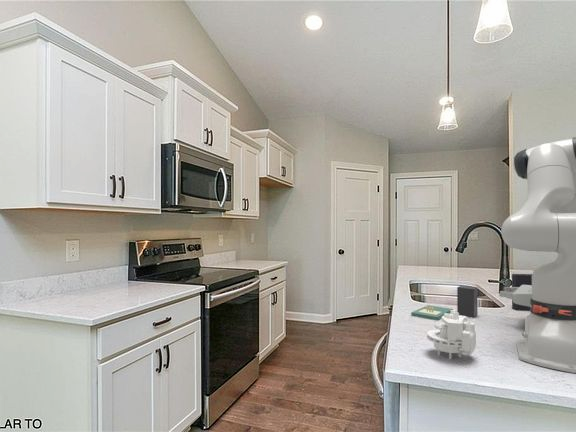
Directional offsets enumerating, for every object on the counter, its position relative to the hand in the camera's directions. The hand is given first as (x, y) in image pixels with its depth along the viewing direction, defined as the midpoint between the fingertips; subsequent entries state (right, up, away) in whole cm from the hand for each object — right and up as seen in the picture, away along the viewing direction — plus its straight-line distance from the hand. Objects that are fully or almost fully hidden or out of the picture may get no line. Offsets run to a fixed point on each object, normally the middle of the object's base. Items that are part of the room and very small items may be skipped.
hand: (502, 291), depth 130 cm
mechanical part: (-36, -10, -36) cm, 52 cm away
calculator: (+21, -12, +17) cm, 30 cm away
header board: (-22, -11, +9) cm, 27 cm away
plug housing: (-9, -11, +7) cm, 16 cm away
